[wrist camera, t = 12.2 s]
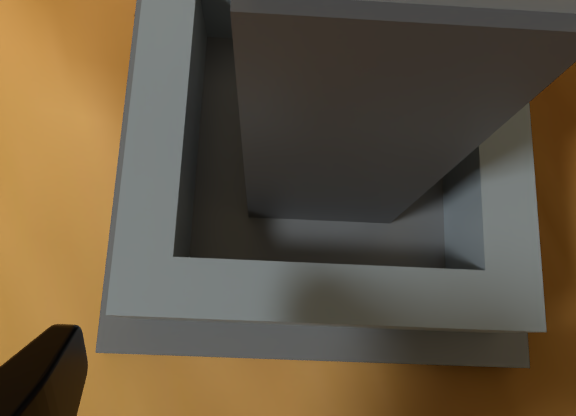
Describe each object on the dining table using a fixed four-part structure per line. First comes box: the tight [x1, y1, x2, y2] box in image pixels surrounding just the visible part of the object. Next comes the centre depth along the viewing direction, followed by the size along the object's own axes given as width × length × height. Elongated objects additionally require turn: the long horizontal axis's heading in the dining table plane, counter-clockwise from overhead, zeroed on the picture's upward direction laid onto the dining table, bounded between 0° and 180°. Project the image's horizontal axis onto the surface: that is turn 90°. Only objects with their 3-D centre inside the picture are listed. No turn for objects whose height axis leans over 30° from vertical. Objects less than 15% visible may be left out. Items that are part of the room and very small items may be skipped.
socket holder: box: [96, 0, 547, 368], centre depth 17 cm, size 13×13×4 cm
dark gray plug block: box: [230, 0, 576, 223], centre depth 12 cm, size 4×4×12 cm
